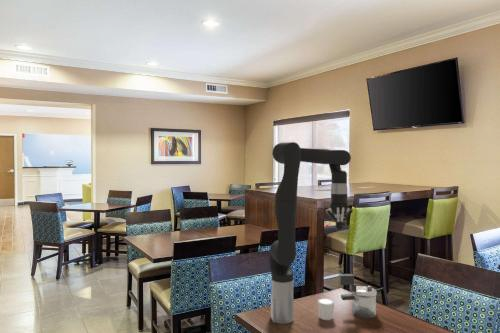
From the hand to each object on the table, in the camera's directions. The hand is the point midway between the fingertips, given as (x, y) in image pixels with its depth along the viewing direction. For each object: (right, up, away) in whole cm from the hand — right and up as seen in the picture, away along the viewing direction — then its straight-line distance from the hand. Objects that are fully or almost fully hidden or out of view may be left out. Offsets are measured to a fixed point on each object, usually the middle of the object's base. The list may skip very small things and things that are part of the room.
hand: (339, 229), depth 171 cm
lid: (+6, -26, -11) cm, 29 cm away
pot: (+6, -35, -11) cm, 37 cm away
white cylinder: (-9, -36, -14) cm, 39 cm away
